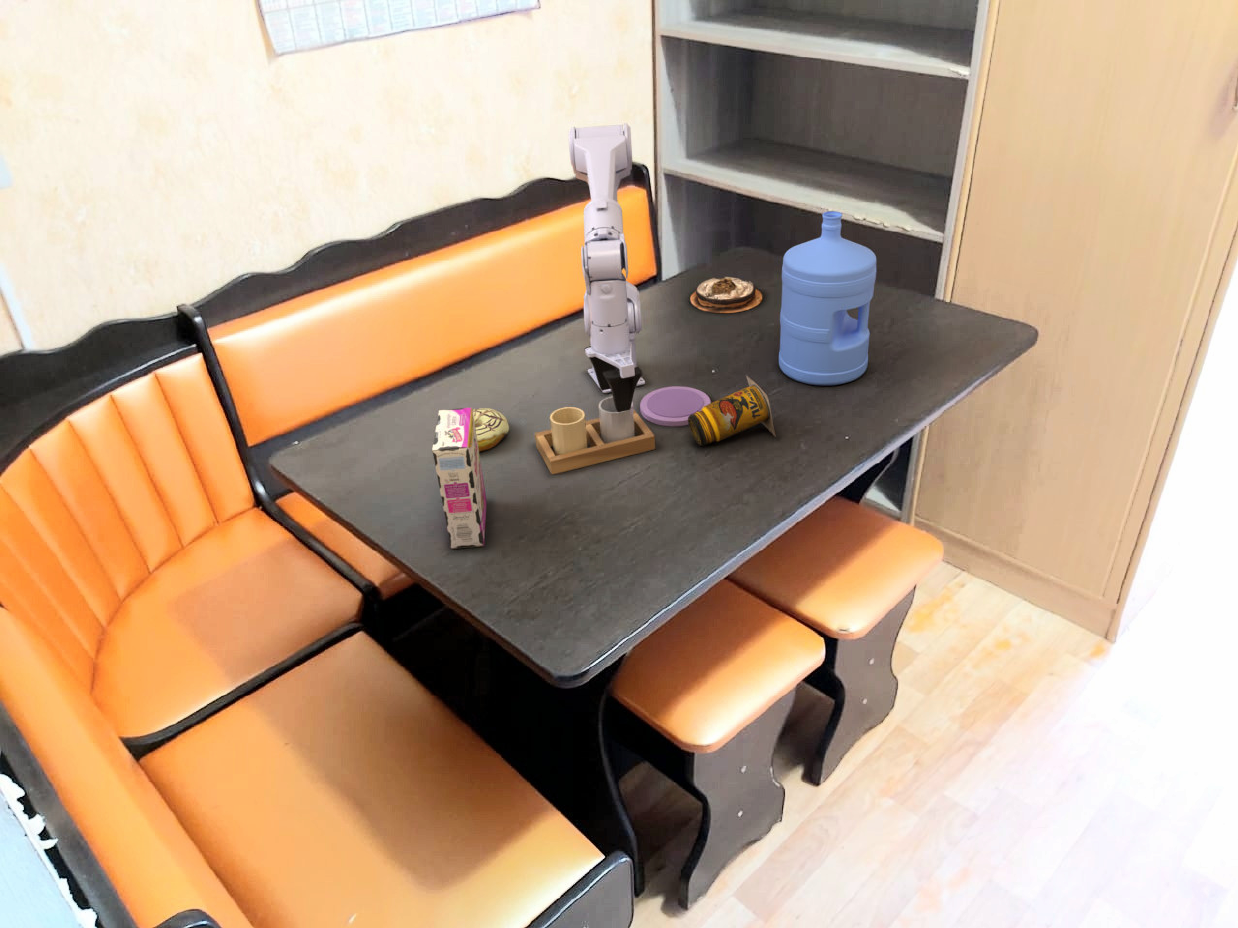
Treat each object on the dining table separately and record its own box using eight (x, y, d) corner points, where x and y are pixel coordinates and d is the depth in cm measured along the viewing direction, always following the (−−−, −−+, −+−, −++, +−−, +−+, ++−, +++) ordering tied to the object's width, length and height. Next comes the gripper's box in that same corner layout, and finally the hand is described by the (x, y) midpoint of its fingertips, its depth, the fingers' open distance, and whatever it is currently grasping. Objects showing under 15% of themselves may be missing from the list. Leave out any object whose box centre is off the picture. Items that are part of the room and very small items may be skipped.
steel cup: (597, 437, 150) (594, 400, 146) (628, 430, 152) (625, 393, 148) (608, 454, 146) (605, 416, 142) (640, 446, 147) (637, 408, 143)
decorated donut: (522, 435, 152) (519, 416, 150) (472, 464, 146) (468, 444, 144) (481, 416, 159) (478, 397, 156) (431, 443, 152) (427, 423, 150)
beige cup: (550, 449, 148) (545, 411, 144) (582, 441, 150) (578, 404, 146) (560, 465, 144) (555, 427, 140) (592, 457, 145) (589, 419, 141)
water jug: (769, 381, 162) (773, 227, 147) (789, 343, 174) (795, 197, 159) (858, 393, 157) (873, 233, 142) (873, 353, 169) (888, 202, 154)
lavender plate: (630, 400, 160) (629, 394, 159) (693, 385, 163) (693, 379, 162) (655, 432, 150) (655, 426, 150) (722, 416, 153) (722, 410, 153)
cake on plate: (735, 318, 185) (736, 299, 183) (676, 303, 194) (675, 284, 191) (775, 293, 194) (775, 275, 192) (716, 280, 203) (716, 262, 200)
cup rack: (536, 446, 149) (534, 433, 148) (635, 422, 154) (634, 409, 152) (551, 475, 142) (550, 461, 141) (655, 449, 146) (654, 435, 145)
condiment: (767, 394, 142) (697, 424, 140) (776, 437, 147) (709, 467, 145) (747, 374, 148) (680, 403, 146) (756, 416, 153) (691, 445, 151)
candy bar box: (486, 547, 128) (468, 447, 119) (450, 550, 128) (429, 451, 119) (489, 500, 137) (472, 405, 128) (455, 504, 137) (436, 408, 128)
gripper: (569, 307, 142) (577, 384, 149) (599, 343, 130) (606, 426, 138) (612, 298, 144) (617, 375, 151) (645, 333, 132) (650, 415, 139)
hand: (615, 399), depth 144 cm, fingers open, 7 cm apart
